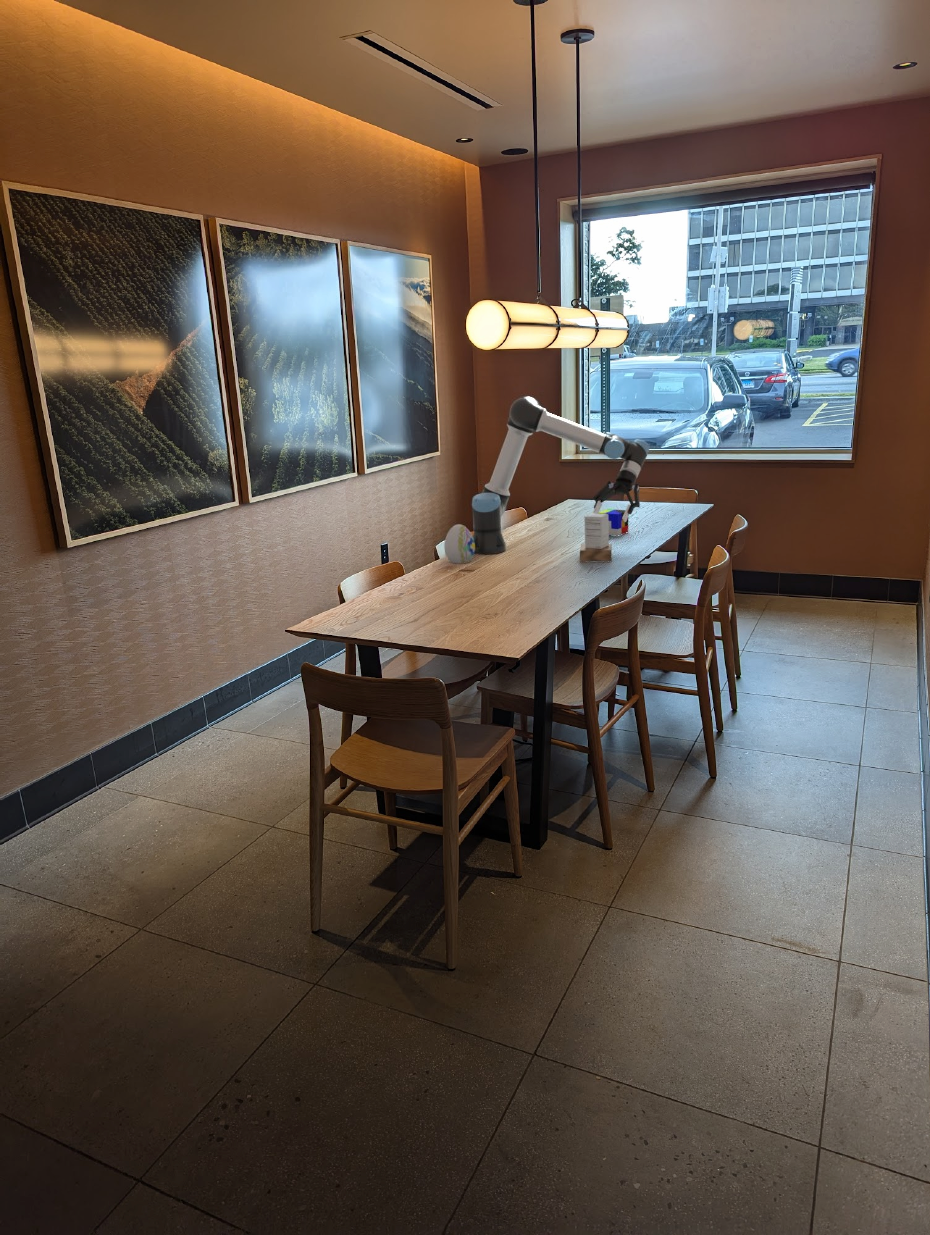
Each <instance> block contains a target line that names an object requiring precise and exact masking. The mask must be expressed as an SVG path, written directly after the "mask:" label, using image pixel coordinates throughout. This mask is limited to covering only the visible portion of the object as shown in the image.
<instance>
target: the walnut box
mask: <svg viewBox="0 0 930 1235" xmlns="http://www.w3.org/2000/svg"><path fill="white" fill-rule="evenodd" d="M612 546H613V545H612V543H609V545H608V546H606V547H604V548H602V549H595V548H585V543H581V545H580V549H579V562H580V563H587V562H586V561H606V562H607V563H610V561H611V562H612V557H611V556H612V555H613V554H612V553H613V552H612V549H613V548H612ZM608 561H609V562H608ZM606 562H605V563H606Z"/></svg>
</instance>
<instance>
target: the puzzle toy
mask: <svg viewBox="0 0 930 1235" xmlns="http://www.w3.org/2000/svg"><path fill="white" fill-rule="evenodd" d="M625 510H626V509H611V508H607V509H605V510H602V511H599V513H598V514H608V525H609V535H616V536H615V537H619V536H618V535H620V536H622V535H621V534H623V533H625V534H627V533H626V532H628V533H629V518H628V519H627V521H626V522H624V520H623V519H622V517H623V515H624V513H625ZM623 535H624V534H623Z"/></svg>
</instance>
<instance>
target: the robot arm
mask: <svg viewBox="0 0 930 1235" xmlns="http://www.w3.org/2000/svg"><path fill="white" fill-rule="evenodd" d="M506 426H507V428H508V430H507V434H506V436H505V439H504V442H503V444H502V446H501V449H500V452H499V454H498V458H497V461H496V464H495V466H494V470H493V473H492V475H491V478H490V481H489V482H488V483H486V484H485V485H484V487H483V490H482V491H481V493H479V494H476V495H474V496H473V497H472V500H471V507H472V524H473V525H472V526H473V527H472V528H473V534H472V536H473V539H474V543H475V552H474V554H477V555H478V554H479V555H491V554H499V553H503V552H505V551H507V544H506V541H505V539H504V536H503V534H502V516H503V515H504V513H506V512H505V511H506V510H507V505H508V501H509V499H510V496H511V493H510V490H509V488H510V487H511V483H512V481H513V477H514V475H515V472H516V470H517V467H518V464H519V462H520V459H521V456H522V454H523V450H524V448H525V446H526V443H527V440H528V438H529V437H530V436H532V435H533V434H534V432H536V433H538V432H544V433H547V434H549V435H551V436H554V437H557V438H560V439H562V440H565V441H566V442H570V443H572V444H575V445H577V446H580V447H583V448H586V449H588V450H591V451H594V452H596V453H599V454H601V455H604V456H606V457H607V458H609V459H611V460H616V459H622V460H624V461H623V463H622V465H621V468H620V470H619V472H618V474H617V475H616V476H617V477H616V479H615V482H614V483H613V482H611V481H610V480H608V481H607V482H606V484H605V485H604V487H603V488H601V489H600V490H599V491H598V492H597V493H596V494H595V495H594V496H593V497H592V498H593V500H594V502H595V503H594V505H593V508H594V509H593V511H592V513H595V514H598V513H599V512H600V510H601V508H602V506H603V504H602V503H604V502H605V501H606V500H608V499H610V498H611V497H614V496H616V495H622V496H625V495H626V497H627V500H628V502H629V504H627V506H626V508H625V509H624V510H625V513H624V515H623V517H622V519H623V520H624V522H626V521H627V519H628V520H629V516H630V515H632V513H633V511H634V509H635V508H640V507H641V506H640V505H641V504H640V494H639V492H640V489H641V488H640V486H639V485H638V483H637V484H636V481H637V478H638V477H639V475H640V472H641V470H642V468H643V466H644V464H645V461H646V459H647V457H648V454H649V451H650V445H649V443H647V442H646V441H645V440H643V439H638V438H637V439H635V440H633V441H632V442H631V441H629V440H626V439H624V438H623V437H621V436H618V435H616V433H615V434H614V433H611V432H609V431H607V432H605V433H602V432H600V431H597V430H595V429H592V428H589V427H587V426H583V425H581V424H578V423H576V422H573V421H571V420H568V419H567V418H563V417H560V416H557V415H556V414H552V413H550V412H548V411H547V409H546V408H544V407H542V406H541V404H540V403H539V401H538V400H537V399H536V398H534V397H532V396H528V395H527V396H526V395H525V396H521V397H520V398H518V399H516V400H514V401H513V403H512V404H511V406H510V408H509V417H508V419H507V423H506ZM632 490H633V496H634V501H633V498H632V496H631V493H630V492H631V491H632Z"/></svg>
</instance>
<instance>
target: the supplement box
mask: <svg viewBox="0 0 930 1235" xmlns="http://www.w3.org/2000/svg"><path fill="white" fill-rule="evenodd" d="M609 540H610V536H609V525H608V514H595V513H593V512H591V513H589V514H588V515H585V516H584V544H585V548H595V549H602V548H604V547H606V546H608V545H609V544H610V541H609Z"/></svg>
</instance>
